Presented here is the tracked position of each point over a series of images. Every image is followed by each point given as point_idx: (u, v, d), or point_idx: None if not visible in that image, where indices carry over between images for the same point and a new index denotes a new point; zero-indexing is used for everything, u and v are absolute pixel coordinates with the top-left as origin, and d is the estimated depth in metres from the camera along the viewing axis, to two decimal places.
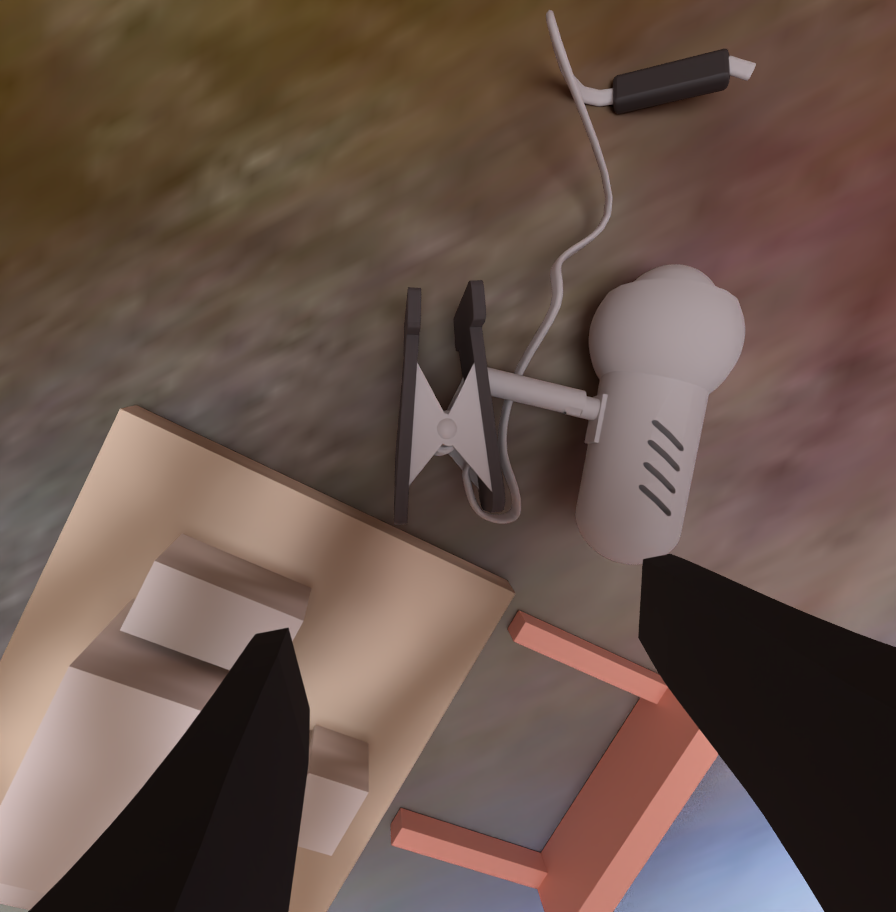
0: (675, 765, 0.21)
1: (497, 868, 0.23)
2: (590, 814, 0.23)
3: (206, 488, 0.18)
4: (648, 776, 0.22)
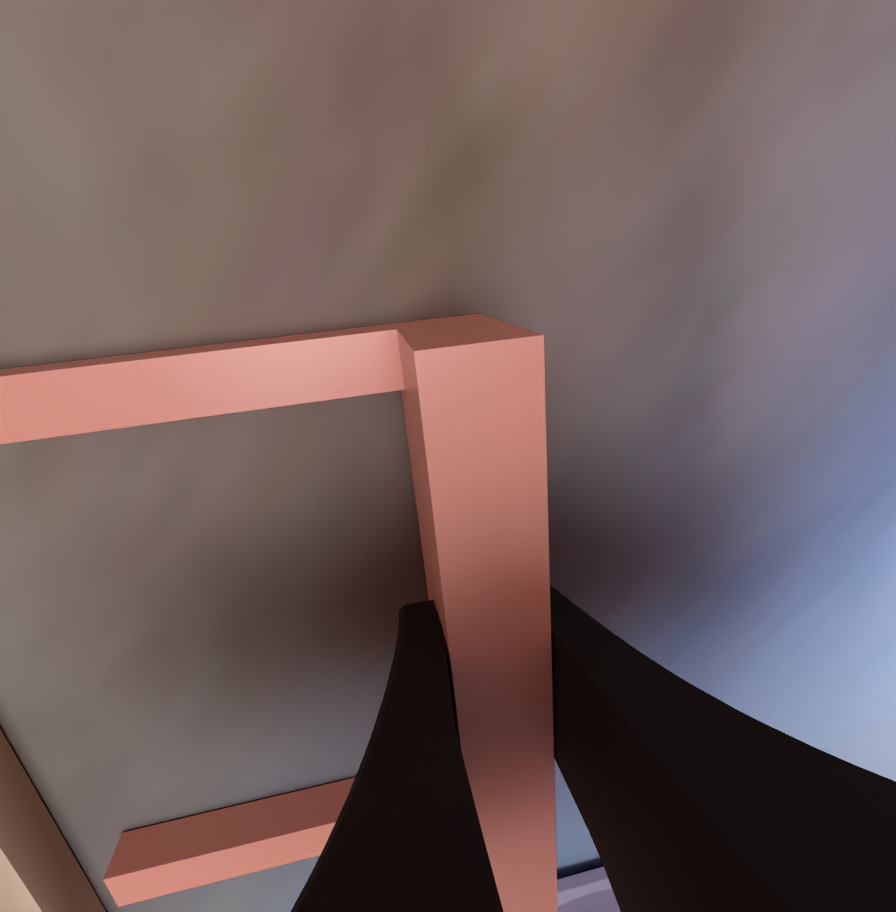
0: (438, 510, 0.07)
1: None
2: None
3: None
4: (434, 566, 0.08)
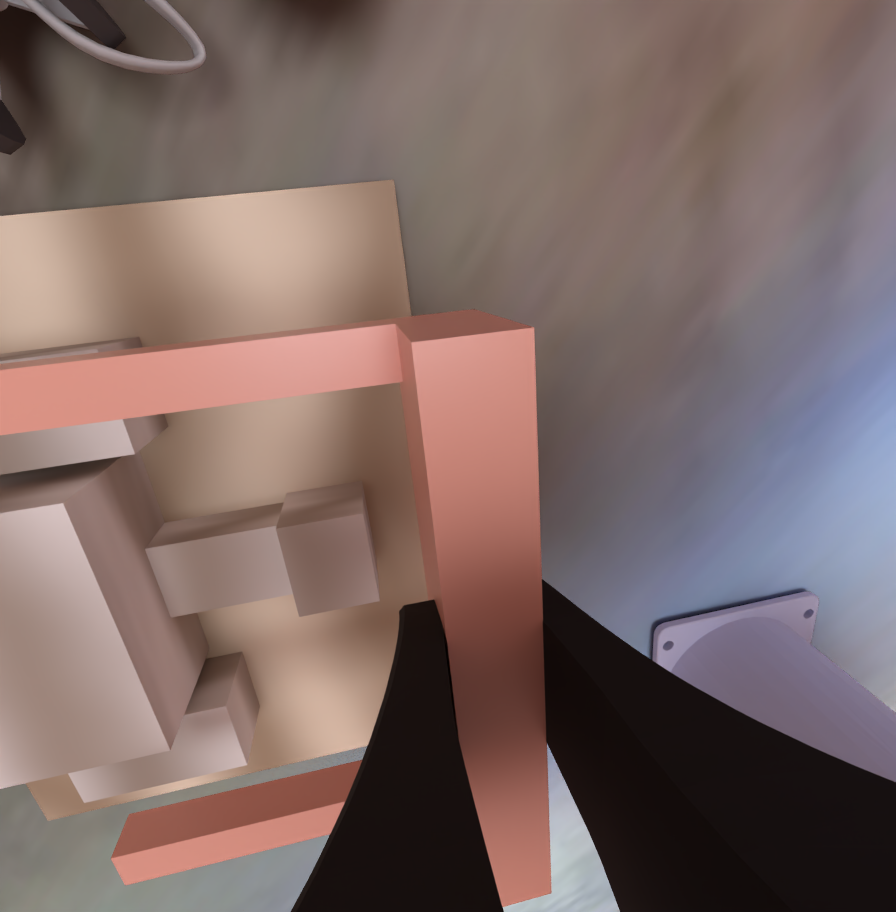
0: (434, 494, 0.07)
1: None
2: None
3: None
4: (431, 550, 0.08)
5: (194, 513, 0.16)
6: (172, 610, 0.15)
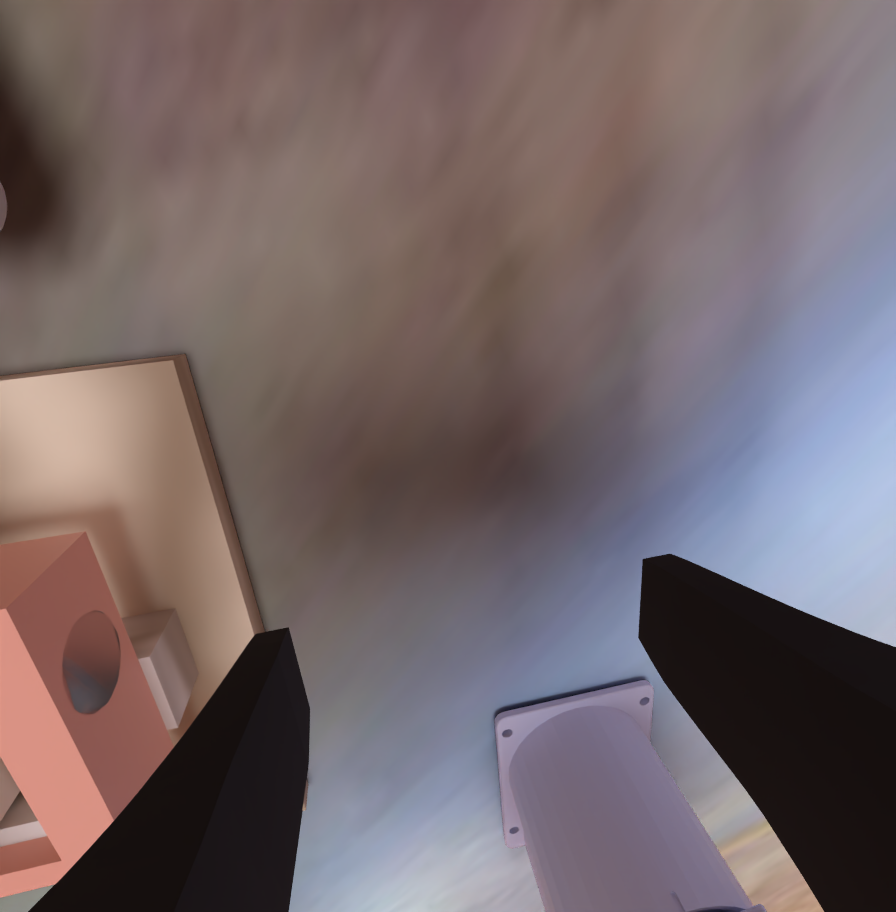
0: None
1: (59, 873, 0.16)
2: None
3: None
4: None
5: None
6: None
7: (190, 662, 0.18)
